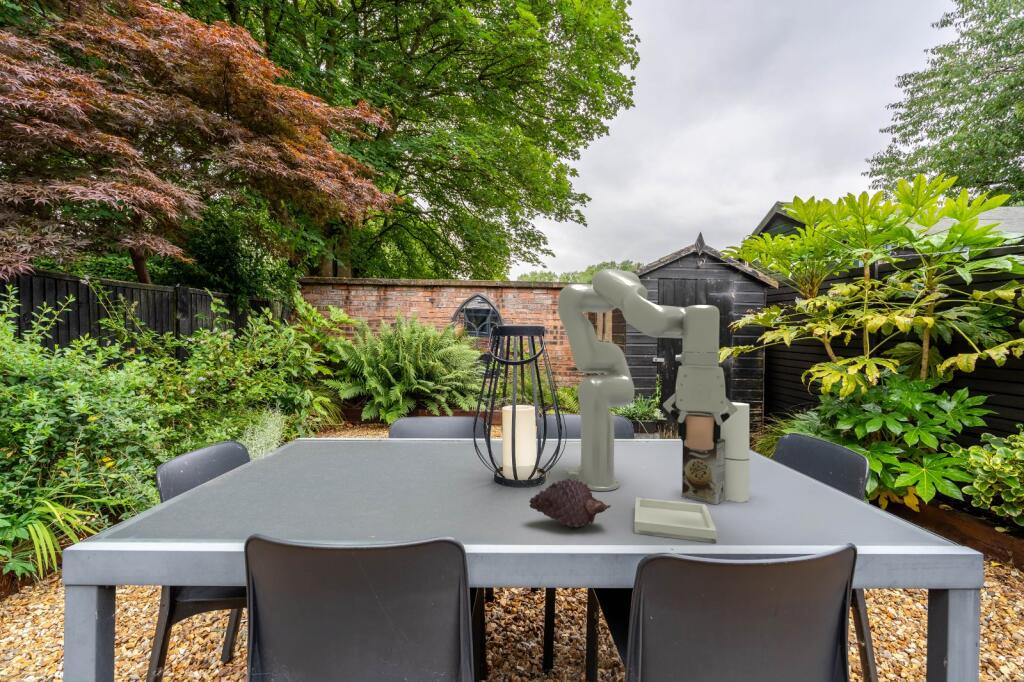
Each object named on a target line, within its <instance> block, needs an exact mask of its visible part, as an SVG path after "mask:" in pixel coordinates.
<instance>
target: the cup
mask: <svg viewBox="0 0 1024 682" xmlns="http://www.w3.org/2000/svg"><path fill="white" fill-rule="evenodd" d="M684 420H685V424H686V438H685V441H684V445H685V446H686V447H689V448H692V449H699V450H711V449H713V445H714V416H713V415H712V414H711V413H705V412H687V414H686V416H685V419H684Z"/></svg>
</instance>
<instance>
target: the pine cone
mask: <svg viewBox="0 0 1024 682" xmlns="http://www.w3.org/2000/svg"><path fill="white" fill-rule="evenodd" d="M528 502H529V503H530V504H529V507H530V509H532V510H536V511H537V512H539V513H542V514H544V516H547V517H549V518H550V519H552V520H556V521H560V524H561V525H565V526H568V527H569V528H574V527H575V528H580V527H585V526H586V525H588V524H593V523H594V521H595V519H596V515H598V514H600V513H604V512H605V511H606V510H607V509H609V508H611V506H612V505H611V504H608V505H607V504H605V503H604V502H603V501H602V500H598V499H597V498H594V496H593V493H592V492H591V490H590V488H588V486H587V485H584V484H583V483H582V482H581V481H576V480H575V479H572V480H571V479H570V478H567V479H566V480H558V481H557V482H553V483H552V484H550V485H548V486H547V487H546V488H545V490H540V491H539V493H538V494H535V496H533V497H530V500H529V501H528Z"/></svg>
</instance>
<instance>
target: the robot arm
mask: <svg viewBox="0 0 1024 682" xmlns="http://www.w3.org/2000/svg"><path fill="white" fill-rule="evenodd" d="M616 309H619V311H621V313H622V316H623V318H624V320H625V322H626V323H627V324H629V326H631V327H633V329H635V330H638V332H640V333H642V334H643V335H646V336H648V337H652V338H666V339H667V338H670V339H682V350H681V351H682V352H681V353H679V354H675V361H676V362H680V363H681V364H682V365H679V366H678V370H677V375H676V380H675V393H673V394H672V395H671V396H670V397H669V398H668V399H667V400H666V401H665V402H663V404H662V406H663V408H664V409H665V410H666V411H667V412H668V413H669V414H670V415H671V416H672V417H673V418H674V419H675V420H676V422H677V436H678V437H680V440H681V441H682V442H683V441H685V438H686V424H685V416H686V414H687V413H705V414H711V415H713V416H714V443H718V439H720V438H721V425H722V424H723V423H724V422H725V421H726V420H727V419H728V418H729V417H730V416H732V415H733V414H734V413H735V412H736V411H737V410H738V409H737V408H736V407H735V406H734V405H733V404H732V403H731V402H732V401H731V400H730V399H729V398H728V397H726V380H725V374H724V373H725V371H724V368H723V367H721V366H719V362H720V361H719V357H720V355H719V352H720V309H719V308H718V307H717V306H715V305H711V304H693V305H689V306H686V307H682V306H674V305H672V306H671V305H664V304H662V305H659V304H655V303H653V302H651V301H650V300H648V290H647V288H646V287H645V286H644V284H642V283H641V280H640V278H639V276H638V275H637V274H636V273H634V272H632V271H628V270H621V269H616V268H614V269H613V268H604V269H601V270H598V271H597V272H596V273H595V274H594V275H593V277H592V280H591V284H589V283H588V284H587V283H571V284H567V285H566V286H563V288H562V289H561V290H560V293H559V294H558V298H557V313H558V317H559V320H560V322H561V324H562V326H563V328H564V331H565V334H566V336H567V340H568V345H569V347H570V348H569V349H570V352H571V354H572V359H573V362H574V364H575V368H576V369H577V370H578V371H579V372H581V373H584V374H597V375H590V376H587V377H584V378H583V379H582V380H581V381H580V382H579V384H578V386H577V398H578V403H579V409H580V410H579V412H580V466H579V467H576V468H574V467H566V468H565V475H568V477H576V478H575V479H574V480H576V481H581V482H582V483H583V484H584V485H587V486H588V488H590V491H595V492H606V491H607V492H609V491H614V490H617V489H618V488H620V485H621V484H620V481H619V479H617V478H616V477H615V422H614V419H613V416H612V414H611V412H610V409H609V408H620V407H625V406H628V405H630V404H631V403H632V402H633V400H634V398H635V384H634V381H633V378H632V375H631V372H630V368H629V365H628V362H627V359H626V357H625V353H624V352H623V350H622V349H621V348H620V346H619V345H618V344H616V343H613V342H609V341H608V342H607V341H600V340H599V339H598V337H597V334H596V330H595V328H594V325H593V323H592V322H591V321H590V319H589V318H588V317H587V316H586V315H585V314H584V313H597V314H598V313H599V314H601V313H602V314H604V313H609V312H611V311H613V310H616ZM674 403H675V407H676V408H677V409H678V410H679V411H678V412H677V410H675V409H674V408H673V407H672V405H674ZM726 406H727V407H728V409H727V410H726V411H725V408H726ZM723 411H725V412H724V413H722V414H721V415H720V414H719V413H721V412H723Z"/></svg>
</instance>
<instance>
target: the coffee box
mask: <svg viewBox="0 0 1024 682" xmlns="http://www.w3.org/2000/svg"><path fill="white" fill-rule="evenodd" d="M681 466H682V467H681V469H682V472H681V475H682V478H681V482H682V483H681V496H682V497H683V498H687V499H691V500H694V499H695V500H694V501H698V500H699V502H702V501H703V502H702V503H706V502H707V504H710V503H711V504H710V505H714V504H715V505H714V506H716V505H718V504H719V502H720V503H721V502H724V501H725V499H724V473H725V439H718V443H714V445H713V449H711V450H699V449H692V448H689V447H686V446H685V445H684V441H682V465H681Z"/></svg>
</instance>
